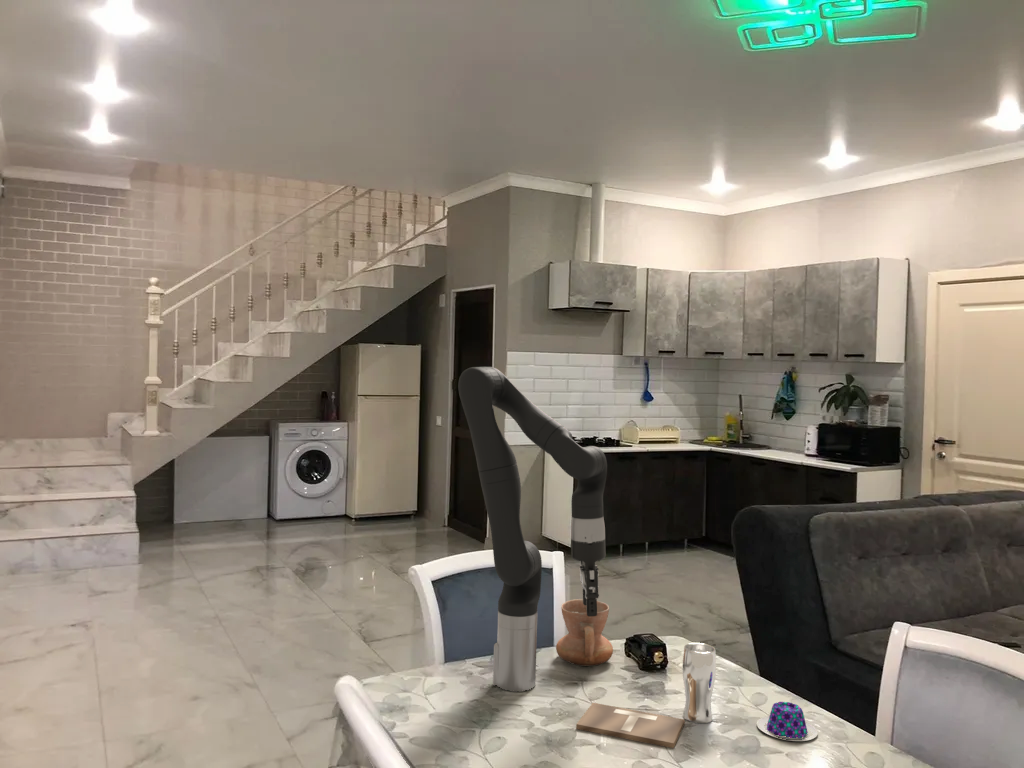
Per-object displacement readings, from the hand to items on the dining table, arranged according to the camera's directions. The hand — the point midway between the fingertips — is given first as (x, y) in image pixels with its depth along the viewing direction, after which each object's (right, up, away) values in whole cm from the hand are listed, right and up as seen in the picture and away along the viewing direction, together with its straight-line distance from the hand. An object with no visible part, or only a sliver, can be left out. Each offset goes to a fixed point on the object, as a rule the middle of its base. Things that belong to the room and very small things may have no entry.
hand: (589, 610), depth 177 cm
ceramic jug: (+1, -21, +27) cm, 34 cm away
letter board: (+7, -21, -11) cm, 25 cm away
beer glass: (+23, -22, -6) cm, 32 cm away
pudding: (+40, -22, -11) cm, 47 cm away
